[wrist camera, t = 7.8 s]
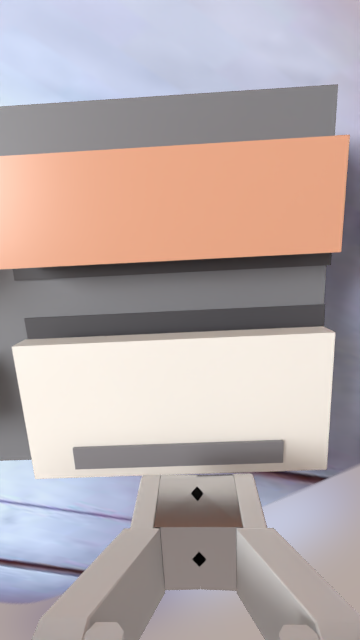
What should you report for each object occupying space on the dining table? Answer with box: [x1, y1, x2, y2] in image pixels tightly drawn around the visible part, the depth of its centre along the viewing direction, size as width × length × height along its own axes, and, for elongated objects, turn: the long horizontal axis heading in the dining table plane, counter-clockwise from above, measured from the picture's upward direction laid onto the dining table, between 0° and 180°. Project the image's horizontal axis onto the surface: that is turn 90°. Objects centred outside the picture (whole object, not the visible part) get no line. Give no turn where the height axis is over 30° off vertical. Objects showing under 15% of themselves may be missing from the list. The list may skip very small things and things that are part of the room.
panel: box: [0, 84, 338, 461], centre depth 13 cm, size 18×13×4 cm
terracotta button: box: [0, 135, 350, 269], centre depth 9 cm, size 10×3×1 cm, turn 93°
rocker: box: [12, 326, 335, 479], centre depth 10 cm, size 10×5×1 cm, turn 93°
